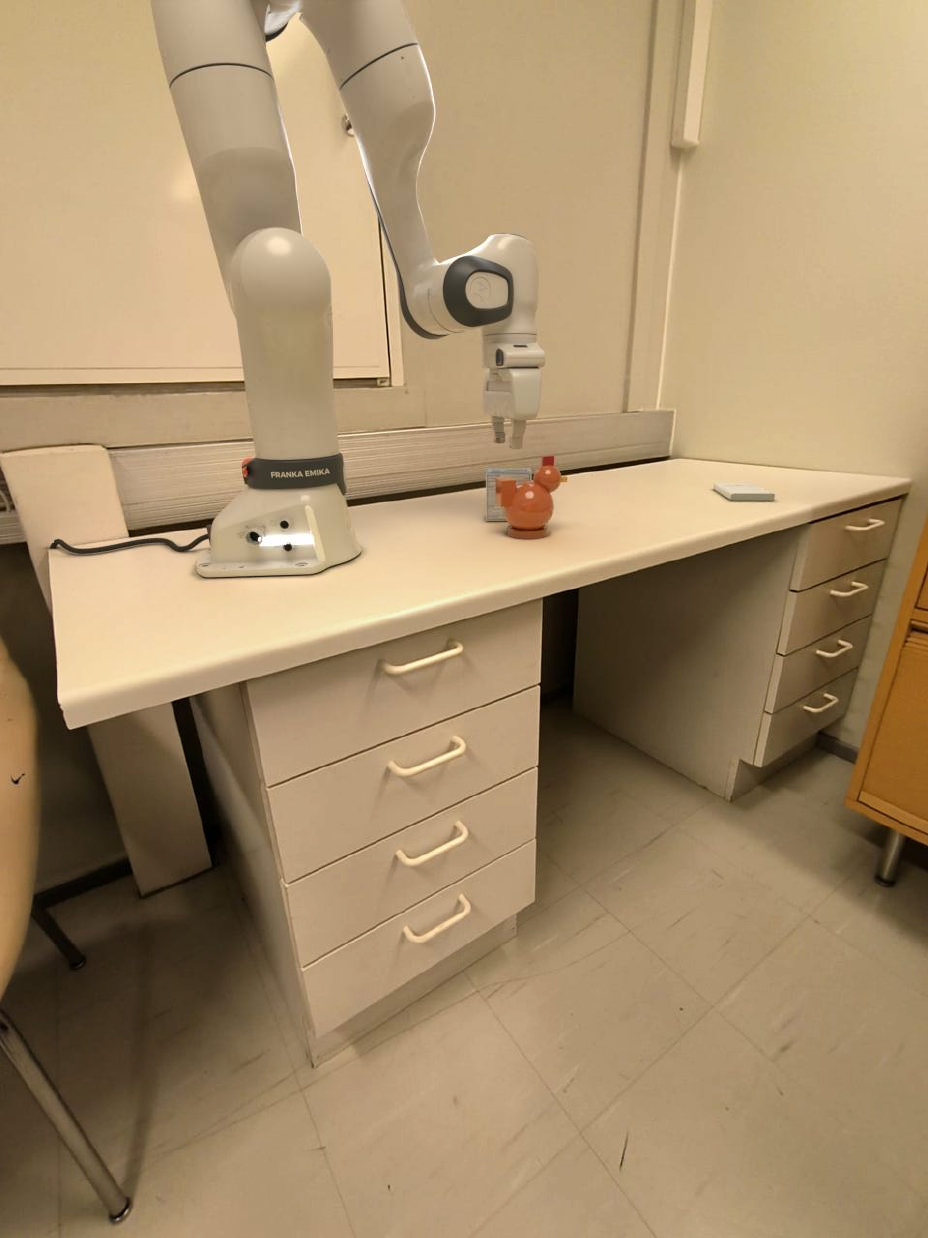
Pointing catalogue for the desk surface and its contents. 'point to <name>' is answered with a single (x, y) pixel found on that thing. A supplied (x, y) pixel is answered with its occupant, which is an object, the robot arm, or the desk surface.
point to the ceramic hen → (529, 500)
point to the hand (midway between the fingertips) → (507, 445)
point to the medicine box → (492, 508)
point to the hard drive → (743, 492)
